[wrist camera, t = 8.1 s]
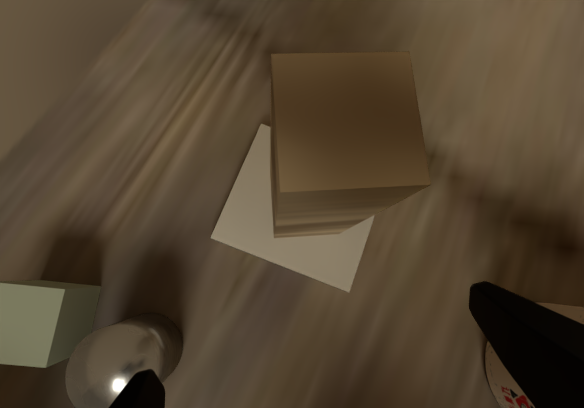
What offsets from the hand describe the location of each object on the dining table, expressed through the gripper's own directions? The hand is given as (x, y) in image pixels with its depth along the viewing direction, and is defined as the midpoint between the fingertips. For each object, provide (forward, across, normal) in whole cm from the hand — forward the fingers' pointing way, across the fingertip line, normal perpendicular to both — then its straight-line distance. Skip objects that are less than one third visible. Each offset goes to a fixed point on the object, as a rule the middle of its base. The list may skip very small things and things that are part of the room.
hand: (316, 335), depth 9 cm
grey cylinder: (+10, +11, +8) cm, 17 cm away
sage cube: (+11, +16, +6) cm, 20 cm away
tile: (+14, -1, +4) cm, 15 cm away
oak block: (+14, -2, +3) cm, 14 cm away
